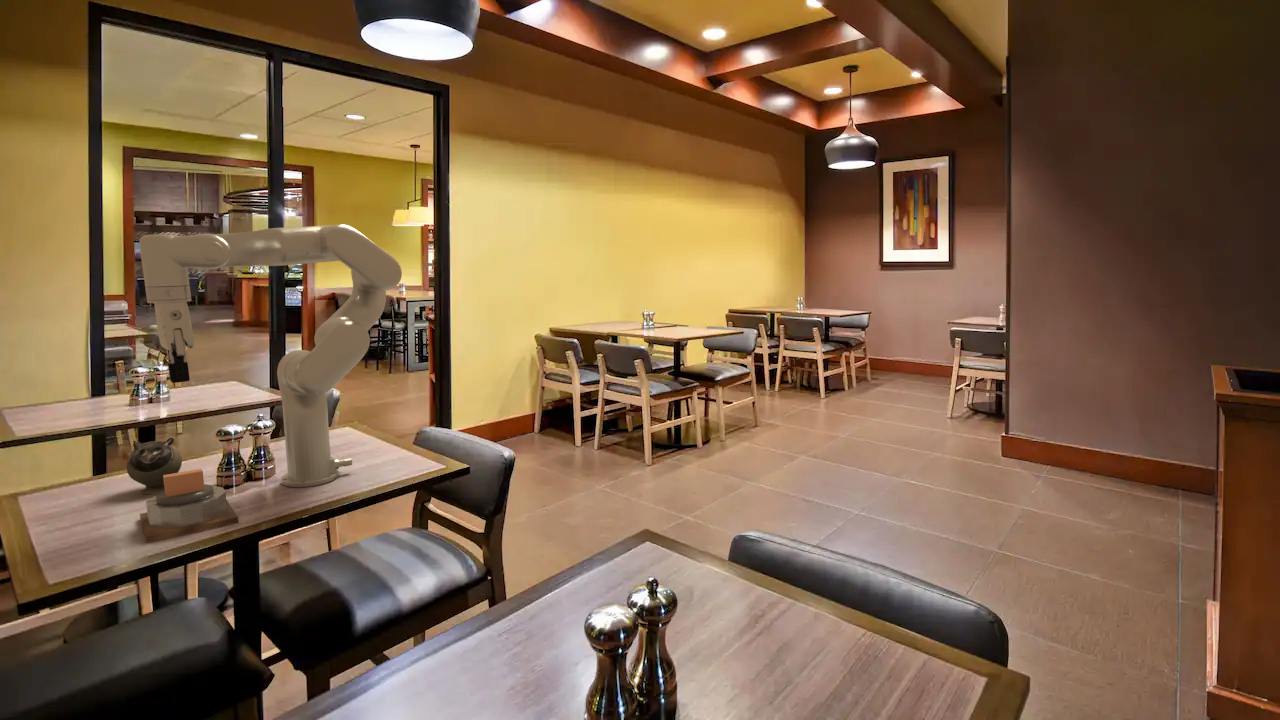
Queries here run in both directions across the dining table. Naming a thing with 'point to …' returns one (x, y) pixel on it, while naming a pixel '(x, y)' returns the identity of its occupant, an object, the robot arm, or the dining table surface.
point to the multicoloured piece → (184, 488)
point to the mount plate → (160, 534)
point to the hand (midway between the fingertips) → (180, 381)
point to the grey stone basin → (187, 511)
